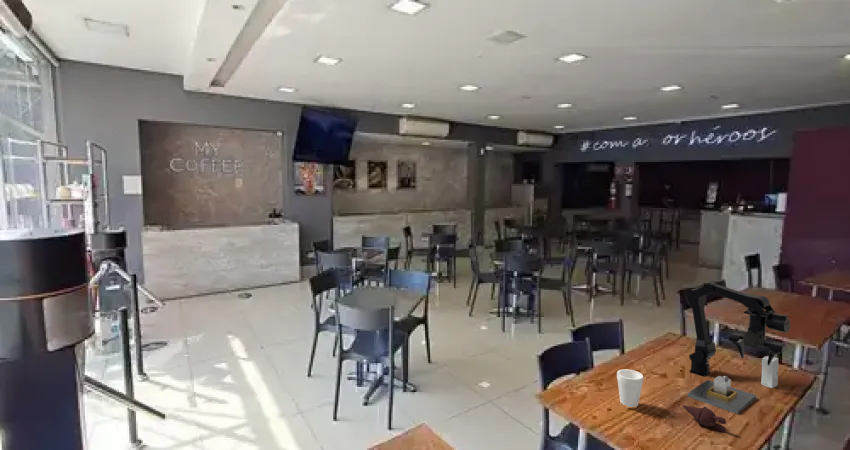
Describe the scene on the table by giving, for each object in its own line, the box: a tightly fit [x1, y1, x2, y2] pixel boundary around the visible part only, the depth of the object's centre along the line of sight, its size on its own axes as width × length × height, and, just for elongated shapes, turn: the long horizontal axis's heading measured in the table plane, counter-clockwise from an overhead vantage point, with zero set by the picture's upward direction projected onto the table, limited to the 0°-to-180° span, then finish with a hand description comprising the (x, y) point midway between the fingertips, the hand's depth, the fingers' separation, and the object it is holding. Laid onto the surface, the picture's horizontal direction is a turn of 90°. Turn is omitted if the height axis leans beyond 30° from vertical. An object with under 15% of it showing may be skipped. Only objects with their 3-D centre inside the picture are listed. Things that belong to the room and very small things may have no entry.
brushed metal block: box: [713, 375, 732, 397], centre depth 182 cm, size 4×4×10 cm
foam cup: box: [616, 368, 644, 407], centre depth 177 cm, size 10×9×13 cm
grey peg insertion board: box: [687, 379, 757, 415], centre depth 182 cm, size 18×20×3 cm
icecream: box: [682, 404, 727, 433], centre depth 162 cm, size 7×7×15 cm
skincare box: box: [760, 355, 779, 389], centre depth 192 cm, size 6×4×12 cm
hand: (755, 361), depth 186 cm, fingers open, 9 cm apart
